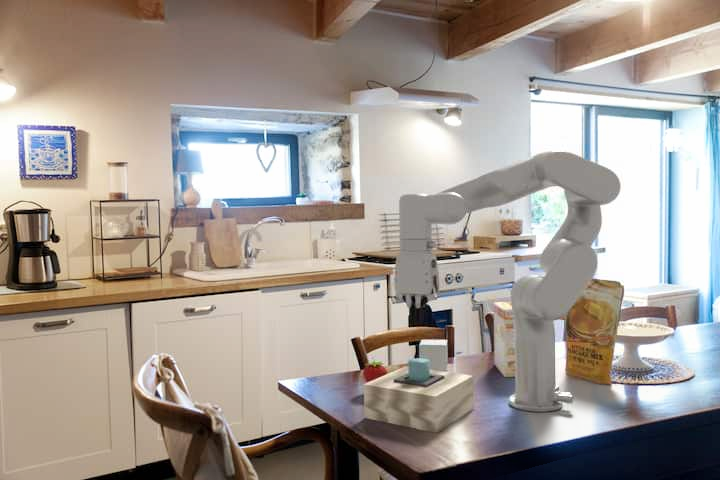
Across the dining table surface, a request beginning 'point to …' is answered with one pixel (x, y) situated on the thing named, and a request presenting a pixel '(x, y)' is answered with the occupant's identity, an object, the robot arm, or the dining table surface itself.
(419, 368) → the teal peg
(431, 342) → the supplement box
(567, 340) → the pancake mix bag
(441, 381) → the collar block
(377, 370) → the strawberry
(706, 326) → the dining table surface
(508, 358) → the coffeecake box
